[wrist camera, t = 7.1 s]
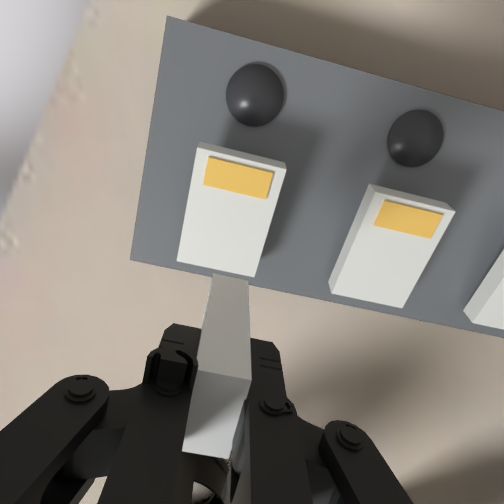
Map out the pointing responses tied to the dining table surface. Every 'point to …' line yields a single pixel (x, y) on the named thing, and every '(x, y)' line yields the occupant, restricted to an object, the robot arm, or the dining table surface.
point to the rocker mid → (388, 246)
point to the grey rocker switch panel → (323, 164)
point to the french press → (200, 477)
